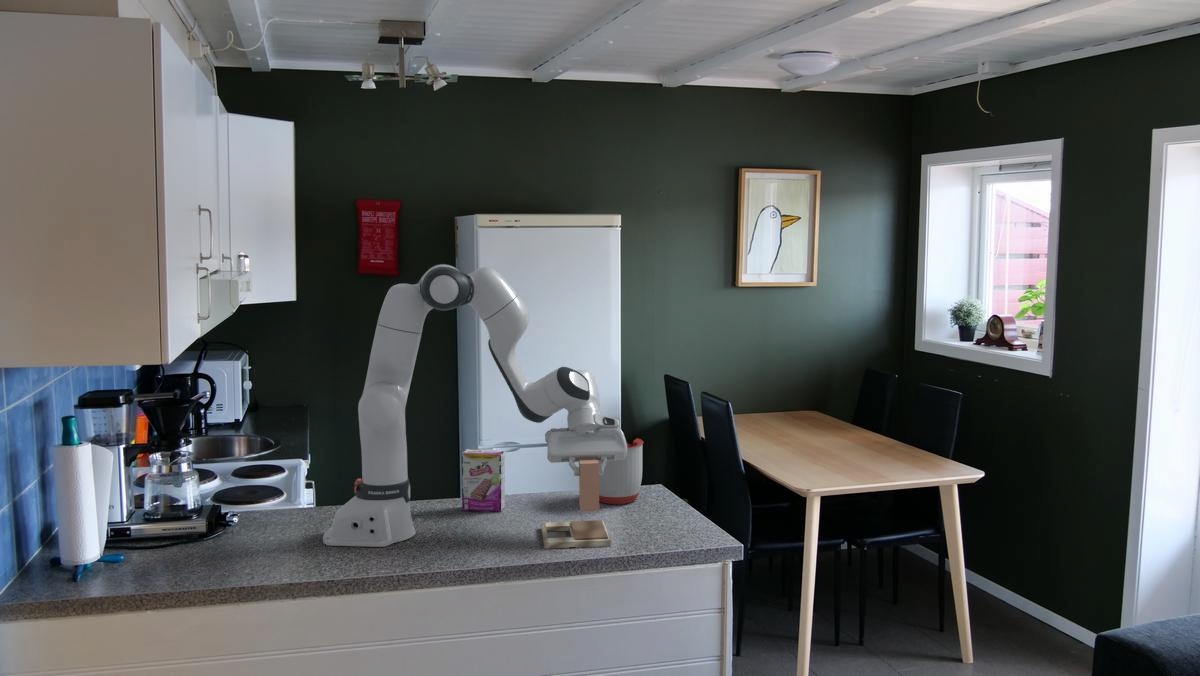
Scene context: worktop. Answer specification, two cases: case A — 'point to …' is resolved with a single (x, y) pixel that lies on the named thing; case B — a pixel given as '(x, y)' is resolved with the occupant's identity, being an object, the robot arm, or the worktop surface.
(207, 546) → the worktop surface
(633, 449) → the citrus juicer
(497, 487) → the candy bar box
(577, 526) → the hole board
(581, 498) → the terracotta block
